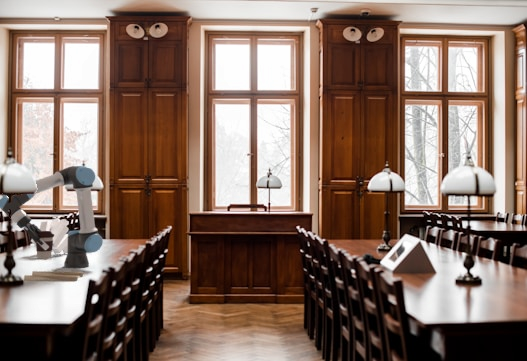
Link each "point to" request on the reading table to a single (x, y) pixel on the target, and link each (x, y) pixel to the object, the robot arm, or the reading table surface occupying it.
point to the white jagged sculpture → (57, 234)
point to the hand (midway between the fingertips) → (49, 247)
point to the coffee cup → (48, 239)
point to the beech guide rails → (53, 276)
